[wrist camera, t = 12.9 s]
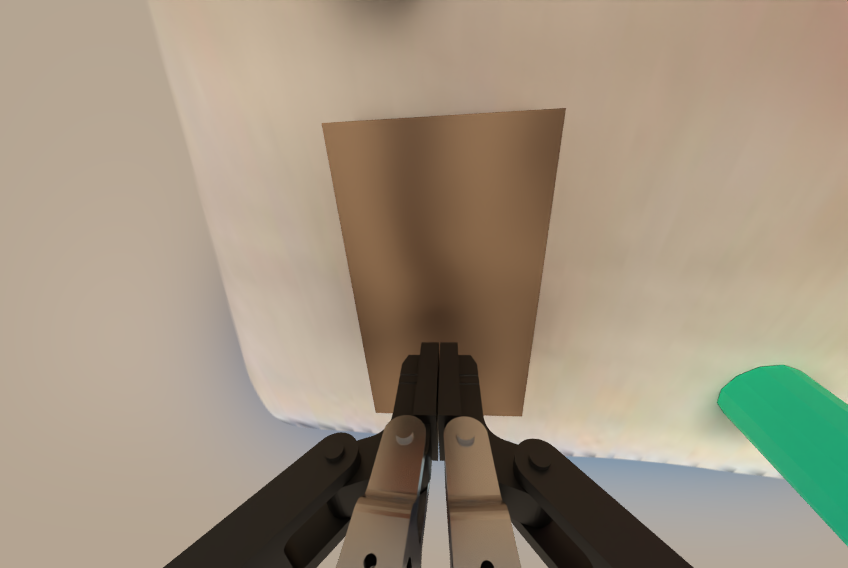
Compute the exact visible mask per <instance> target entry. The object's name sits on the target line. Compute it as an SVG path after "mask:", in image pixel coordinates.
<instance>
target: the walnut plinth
mask: <svg viewBox="0 0 848 568" xmlns="http://www.w3.org/2000/svg"><path fill="white" fill-rule="evenodd" d="M565 110H566V108H559V109H543V110H527V111H511V112H495V113H479V114H463V115H447V116H430V117H414V118H398V119H382V120H366V121H350V122H334V123H322V128H323V133H324V138H325V144H326V149H327V154H328V160H329V165H330V170H331V176H332V181H333V187H334V192H335V197H336V203H337V208H338V213H339V219H340V224H341V229H342V235H343V240H344V245H345V251H346V256H347V261H348V267H349V272H350V277H351V283H352V288H353V293H354V299H355V304H356V309H357V315H358V320H359V326H360V331H361V336H362V342H363V347H364V352H365V358H366V363H367V368H368V374H369V379H370V384H371V390H372V395H373V400H374V406H375V411H376V413H393V410H394V405H395V399H396V394H397V388H398V384H399V378H400V372H401V367H402V363H403V362H404V360H405V359H406V358H407V356H408V355H420V350H421V343H422V342H439V357H440V342H458V355H471V356H472V357H473V359H474V360H475V362H476V363H477V367H478V377H479V385H480V392H481V400H482V409H483V415H491V416H522V412H523V405H524V398H525V391H526V384H527V377H528V370H529V363H530V356H531V349H532V342H533V335H534V328H535V321H536V314H537V307H538V300H539V293H540V286H541V279H542V272H543V265H544V258H545V251H546V244H547V237H548V230H549V222H550V215H551V208H552V201H553V194H554V187H555V180H556V173H557V166H558V159H559V152H560V145H561V138H562V131H563V124H564V117H565Z"/></svg>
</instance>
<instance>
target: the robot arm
mask: <svg viewBox="0 0 848 568" xmlns="http://www.w3.org/2000/svg"><path fill="white" fill-rule="evenodd" d="M438 440H439V450H440V451H439V452H440V461H441V460H442V461H445V489H446V503H447V519H448V535H449V550H450V568H521V564H520V560H519V555H518V551H517V547H516V542H515V537H514V533H513V528H512V524H511V522H512V523H513V525H514V526H515V527H516V529H517V530H518V531H519V532H520V534H521V535H522V536H523V537H524V538H525V540H526V541H527V542H528V543H529V544H530V546H531V547H532V548H533V549H534V551H535V552H536V553H537V554H538V555H539V557H540V558H541V559H542V560H543V562H544V563H545V564H546V565H547V566H548V568H693V567H692V566H691V565H690V564H689V563H688V562H686V561H685V560H684V559H683V558H682V557H681V556H679V555H678V554H677V553H676V552H675V551H674V550H673V549H671V548H670V547H669V546H668V545H667V544H666V543H664V542H663V541H662V540H661V539H660V538H658V537H657V536H656V535H655V534H654V533H653V532H652V531H651V530H649V529H648V528H647V527H646V526H645V525H644V524H642V523H641V522H640V521H639V520H638V519H637V518H636V517H634V516H633V515H632V514H631V513H630V512H629V511H627V510H626V509H625V508H624V507H623V506H622V505H620V504H619V503H618V502H617V501H616V500H615V499H613V498H612V497H611V496H610V495H609V494H608V493H607V492H606V491H604V490H603V489H602V488H601V487H600V486H598V485H597V484H596V483H595V482H594V481H593V480H592V479H591V478H589V477H588V476H587V475H586V474H585V473H583V472H582V471H581V470H580V469H579V468H578V467H577V466H575V465H574V464H573V463H572V462H571V461H570V460H569V459H567V458H566V457H565V456H564V455H563V454H562V453H560V452H559V451H558V450H557V449H556V448H555V447H553V446H552V445H551V444H549V443H547V442H545V441H543V440H539V439H527V440H524V441H522V442H521V443H520V444H519V445H517V444H514V443H511V442H508V441H506V440H503V439H501V438H499V437H497V436H496V435H494V434H493V433H492V432H491V431H490V430H489V429H488V427H487V426H486V424H485V421H484V417H483V409H482V400H481V392H480V385H479V377H478V367H477V363H476V362H475V360H474V359H473V357H472V356H471V355H458V342H440V357H439V342H422V343H421V350H420V355H408V356H407V358H406V359H405V360H404V362H403V363H402V367H401V372H400V378H399V384H398V388H397V394H396V399H395V405H394V410H393V415H392V419H391V421H390V422H389V423H388V424H387V425H386V427H385V429H384V430H383V431H381V432H380V433H378V434H376V435H374V436H371V437H368V438H364V439H361V440H358V441H356V439H355V438H354V437H353V436H352V435H350V434H347V433H335V434H332V435H329V436H327V437H326V438H324V439H323V440H322V441H320V442H319V443H318V444H317V445H315V446H314V447H313V448H312V449H310V450H309V451H308V452H307V453H305V454H304V455H303V456H302V457H300V458H299V459H298V460H297V461H295V462H294V463H293V464H292V465H291V466H289V467H288V468H287V469H286V470H284V471H283V472H282V473H280V474H279V475H278V476H277V477H275V478H274V479H273V480H272V481H271V482H269V483H268V484H267V485H266V486H265V487H263V488H262V489H261V490H259V491H258V492H257V493H256V494H254V495H253V496H252V497H251V498H249V499H248V500H247V501H246V502H244V503H243V504H242V505H241V506H239V507H238V508H237V509H236V510H234V511H233V512H232V513H231V514H229V515H228V516H227V517H226V518H224V519H223V520H222V521H221V522H219V523H218V524H217V525H216V526H214V527H213V528H212V529H211V530H210V531H208V532H207V533H206V534H205V535H203V536H202V537H201V538H200V539H199V540H197V541H196V542H195V543H193V544H192V545H191V546H190V547H188V548H187V549H186V550H185V551H183V552H182V553H181V554H180V555H178V556H177V557H176V558H175V559H173V560H172V561H171V562H170V563H168V564H167V565H166V566H165V567H163V568H317V566H318V565H319V564H320V563H321V562H322V561H323V560H324V559H325V558H326V557H327V556H328V554H329V553H330V552H331V551H332V550H333V549H334V548H335V547H336V546H337V545H338V543H339V542H340V541H341V540H342V539H343V538H344V537H345V540H344V543H343V546H342V549H341V553H340V556H339V559H338V563H337V566H336V568H421V559H422V545H423V536H424V528H425V520H426V512H427V503H428V495H429V486H430V479H431V464H432V460H435V461H438Z"/></svg>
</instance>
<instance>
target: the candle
mask: <svg viewBox="0 0 848 568" xmlns="http://www.w3.org/2000/svg"><path fill="white" fill-rule="evenodd" d="M717 403H718V405H719V406H720V408H721V409H722V411H723V413H724V414H725V415H726V416H727V417H728V418H729V419H730V420H731V421H732V422H733V423H734V425H735V426H736V427H737V428H738V429H739V430H740V431H741V432H742V433H743V434H744V435H745V436H746V437H747V439H748V440H749V441H750V442H751V443H752V444H753V445H754V446H755V447H756V448H757V449H758V450H759V451H760V453H761V454H762V455H763V456H764V457H765V458H766V459H767V460H768V461H769V462H770V463H771V464H772V465H773V467H774V468H775V469H776V470H777V471H778V472H779V473H780V474H781V475H782V476H783V477H784V478H785V479H786V480H787V482H789V484H790V485H791V486H792V487H793V488H794V489H795V490H796V491H797V492H798V493H799V494H800V496H801V497H802V498H803V499H804V500H805V501H806V502H807V503H808V504H809V505H810V506H811V507H812V508H813V509H814V511H815V512H816V513H817V514H818V515H819V516H820V517H821V518H822V519H823V520H824V521H825V522H826V524H827V525H828V526H829V527H830V528H831V529H832V530H833V531H834V532H835V533H836V534H837V535H838V536H839V538H840V539H841V540H842V541H843V542H844V543H845V544H846V545H847V546H848V405H847V404H846V403H845V402H843V401H842V400H840V399H839V398H838V397H836V396H835V395H834V394H832V393H831V392H829V391H828V390H827V389H825V388H824V387H822V386H821V385H820V384H818V383H817V382H815V381H814V380H813V379H811V378H810V377H809V376H807V375H806V374H804V373H803V372H802V371H800V370H797V369H794V368H791V367H788V366H785V365H777V366H765V367H758V368H756V369H753V370H751V371H748V372H746V373H743V374H741V375H738V376H736V377H735V378H734V379H733V380H732V381H731V382H729V383H728V384H727V385H726V386H725V387H724V388H722V389H721V392H720V395H719V398H718V401H717Z"/></svg>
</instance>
